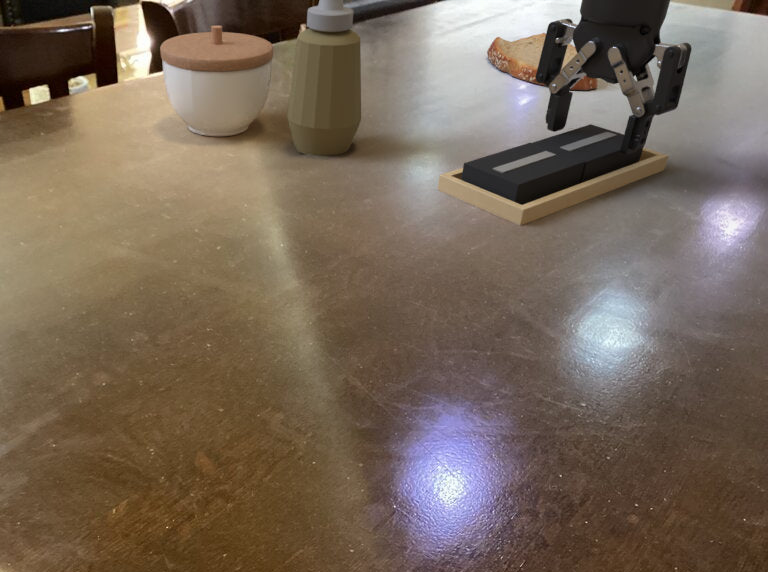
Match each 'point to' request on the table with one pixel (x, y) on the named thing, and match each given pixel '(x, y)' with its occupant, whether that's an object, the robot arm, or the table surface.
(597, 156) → the pad
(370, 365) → the table surface
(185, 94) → the lidded bowl
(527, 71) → the slice of bread
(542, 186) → the pad
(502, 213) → the tray
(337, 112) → the squeeze bottle
